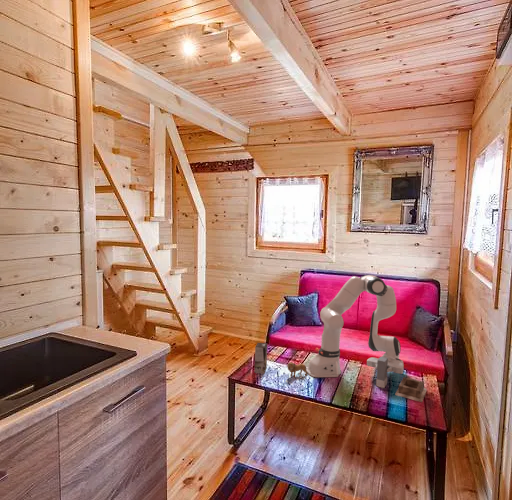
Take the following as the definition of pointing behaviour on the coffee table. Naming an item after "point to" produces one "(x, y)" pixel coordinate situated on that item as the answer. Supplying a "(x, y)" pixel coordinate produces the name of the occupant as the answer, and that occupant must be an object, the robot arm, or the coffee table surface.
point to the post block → (411, 389)
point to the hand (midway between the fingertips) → (381, 369)
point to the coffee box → (260, 358)
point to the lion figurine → (296, 368)
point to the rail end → (382, 372)
